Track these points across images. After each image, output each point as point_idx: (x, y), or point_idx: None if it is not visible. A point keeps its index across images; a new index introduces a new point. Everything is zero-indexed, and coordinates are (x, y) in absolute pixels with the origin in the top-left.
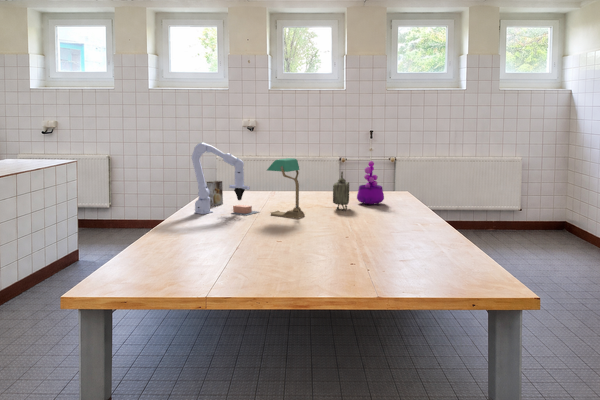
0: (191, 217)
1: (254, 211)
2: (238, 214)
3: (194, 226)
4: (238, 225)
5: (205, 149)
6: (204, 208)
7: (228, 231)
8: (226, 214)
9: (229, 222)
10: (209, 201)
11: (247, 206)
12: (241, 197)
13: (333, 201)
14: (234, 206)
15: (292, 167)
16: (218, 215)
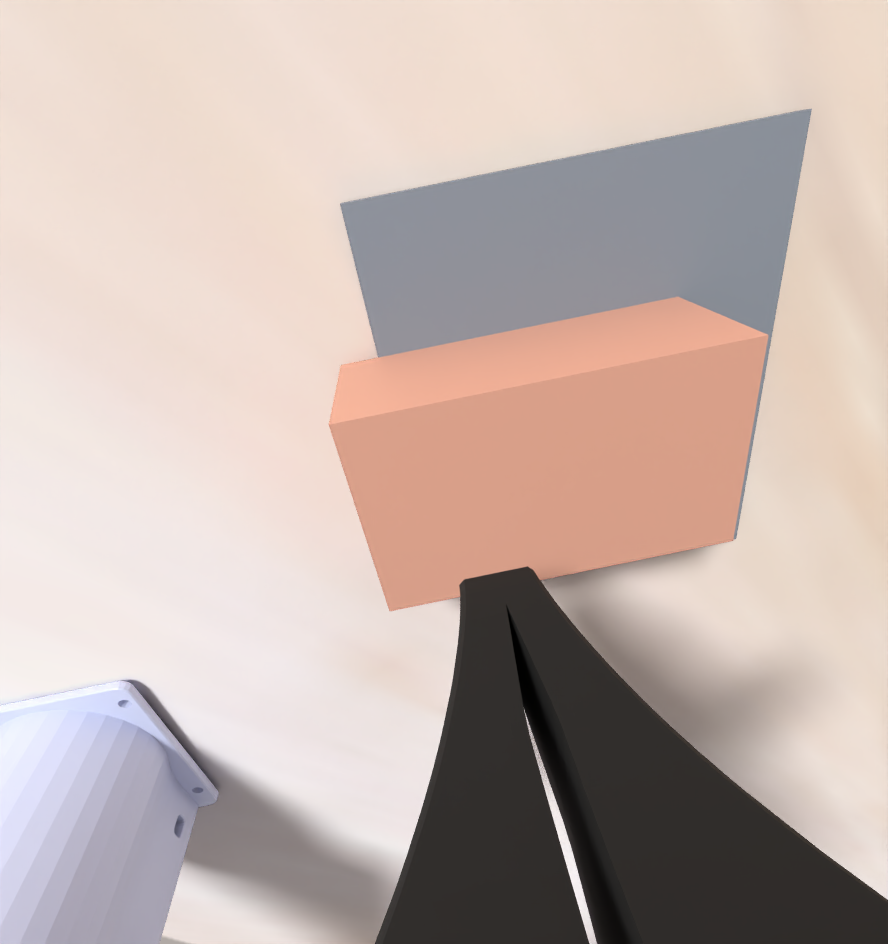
0: (295, 881)
1: (688, 178)
2: None
3: None
4: (874, 794)
5: None
6: (159, 854)
7: (880, 875)
8: (421, 644)
9: (746, 791)
10: (65, 932)
11: (708, 459)
12: (566, 634)
13: None
14: (423, 595)
15: None
16: (400, 724)
